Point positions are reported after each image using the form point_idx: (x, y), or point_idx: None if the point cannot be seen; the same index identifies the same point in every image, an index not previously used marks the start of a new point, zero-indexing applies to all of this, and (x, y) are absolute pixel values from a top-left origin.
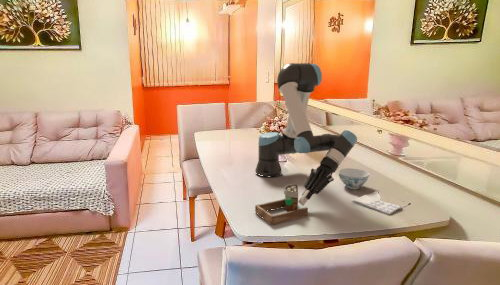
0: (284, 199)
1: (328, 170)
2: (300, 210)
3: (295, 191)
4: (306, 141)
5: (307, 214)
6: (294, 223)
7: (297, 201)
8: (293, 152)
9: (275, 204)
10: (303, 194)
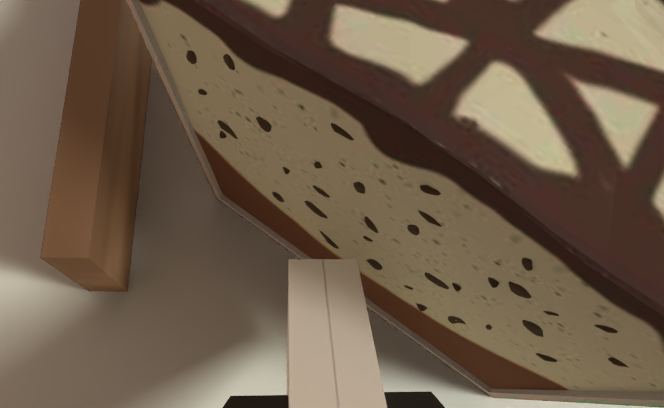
0: None
1: None
2: (67, 107)
3: (336, 19)
4: None
5: (82, 286)
6: (29, 12)
7: (164, 63)
8: None
9: None
10: (372, 382)
